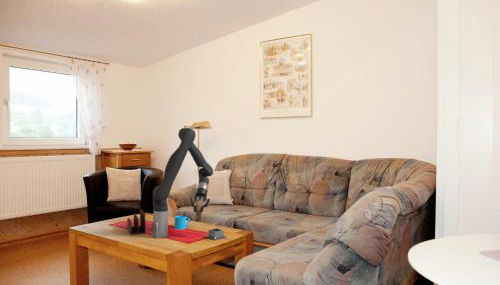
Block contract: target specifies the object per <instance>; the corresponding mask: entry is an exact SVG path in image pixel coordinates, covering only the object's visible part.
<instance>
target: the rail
mask: <svg viewBox="0 0 500 285" xmlns="http://www.w3.org/2000/svg"><path fill="white" fill-rule="evenodd" d="M195 202H196V212H195V222H196V223H198V222H199V223H201V222H202V213H201V206H202V200H201V199H197V200H196V201H195Z"/></svg>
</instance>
